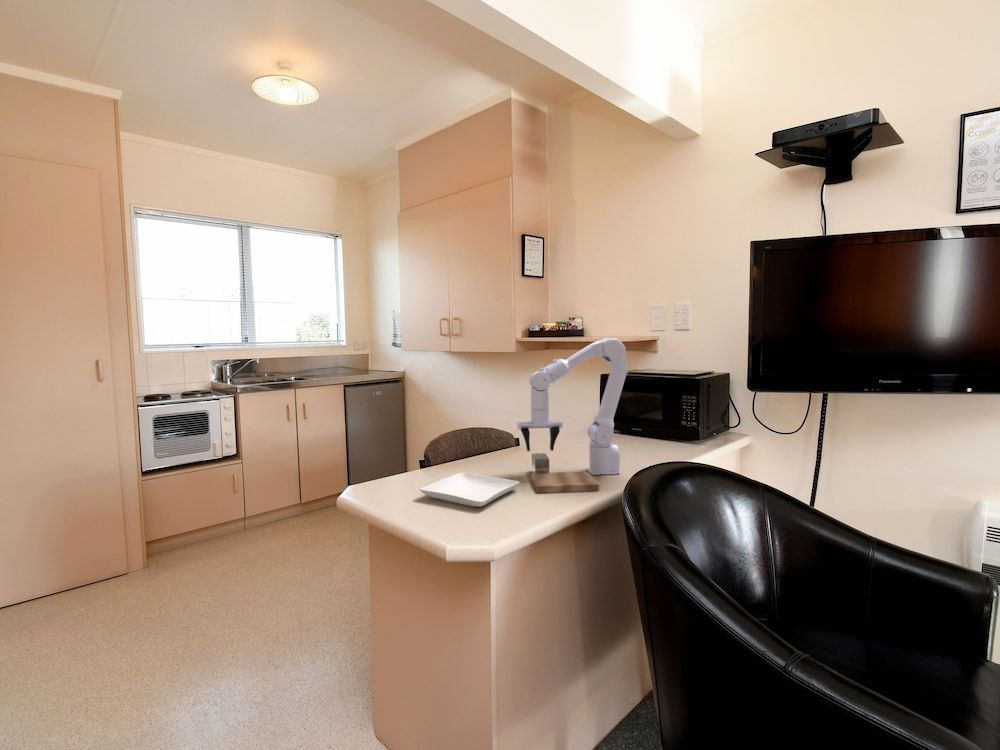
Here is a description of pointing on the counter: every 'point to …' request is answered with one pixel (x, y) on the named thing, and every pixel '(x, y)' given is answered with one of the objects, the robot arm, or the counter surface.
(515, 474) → the counter surface
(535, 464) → the housing
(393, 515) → the counter surface
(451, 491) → the salad plate
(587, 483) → the walnut board
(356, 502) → the counter surface
